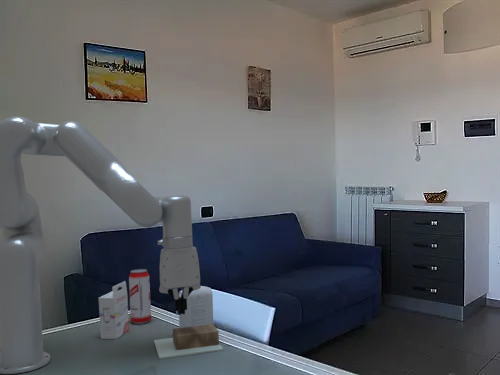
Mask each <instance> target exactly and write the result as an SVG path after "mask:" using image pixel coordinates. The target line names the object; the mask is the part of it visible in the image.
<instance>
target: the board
mask: <svg viewBox="0 0 500 375" xmlns="http://www.w3.org/2000/svg"><path fill="white" fill-rule="evenodd" d="M153 343H154V346H155V350H156V353H157V356H158V359H159V360H162V359H163V360H164V359H168V358H170V359H171V358H176V357H183V356H191V355H192V356H193V355H199V354H205V353H206V354H207V353H213V352H220V351H224V347H222V345H221V344H220V343H219V345H214V346H206V347H198V348H191V349H183V350H176V348H175V345H174V343H173V337H169V338H168V337H167V338H160V339H153Z"/></svg>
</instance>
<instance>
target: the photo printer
mask: <svg viewBox="0 0 500 375" xmlns="http://www.w3.org/2000/svg"><path fill="white" fill-rule="evenodd" d="M200 286H201V288H200V289H197V290H195V291H192V292H191V293H190V295H189V296H188V298H187V310H185V314H181V315H179V314H178V316H179V317H178V322H179V327H178V328H184V327H193V326H201V325H209V324H213V325H214V303H213V298H214V297H213V291H212V288H211V287H208V286H205V285H200ZM178 295H179V296H180V297H181V295H182V290H180V291H178Z"/></svg>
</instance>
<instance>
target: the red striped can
mask: <svg viewBox="0 0 500 375" xmlns="http://www.w3.org/2000/svg"><path fill="white" fill-rule="evenodd" d="M150 283H151V282H150V274H149V272H148V269H146V268H138V269H131V270H130V274H129V276H128V286H129V287H128V289H129V311H130V321H131V323H133V324H134V325H146V324H148V323H149V322H150V321H151V320H152V308H151V307H152V305H151V289H150V288H151V286H150V285H151V284H150Z"/></svg>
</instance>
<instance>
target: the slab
mask: <svg viewBox="0 0 500 375" xmlns="http://www.w3.org/2000/svg"><path fill="white" fill-rule="evenodd" d="M219 333H220V332H219V330H218V329H217V327H216V326H215V324H214V323H213V324H209V325H201V326H193V327H184V328H179V327H178V328H177V327H176V328H172V338H173V343H174V345H175V348H176V350H183V349H191V348H198V347H206V346H214V345H219V344H220V338H219V337H220V336H219Z"/></svg>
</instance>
